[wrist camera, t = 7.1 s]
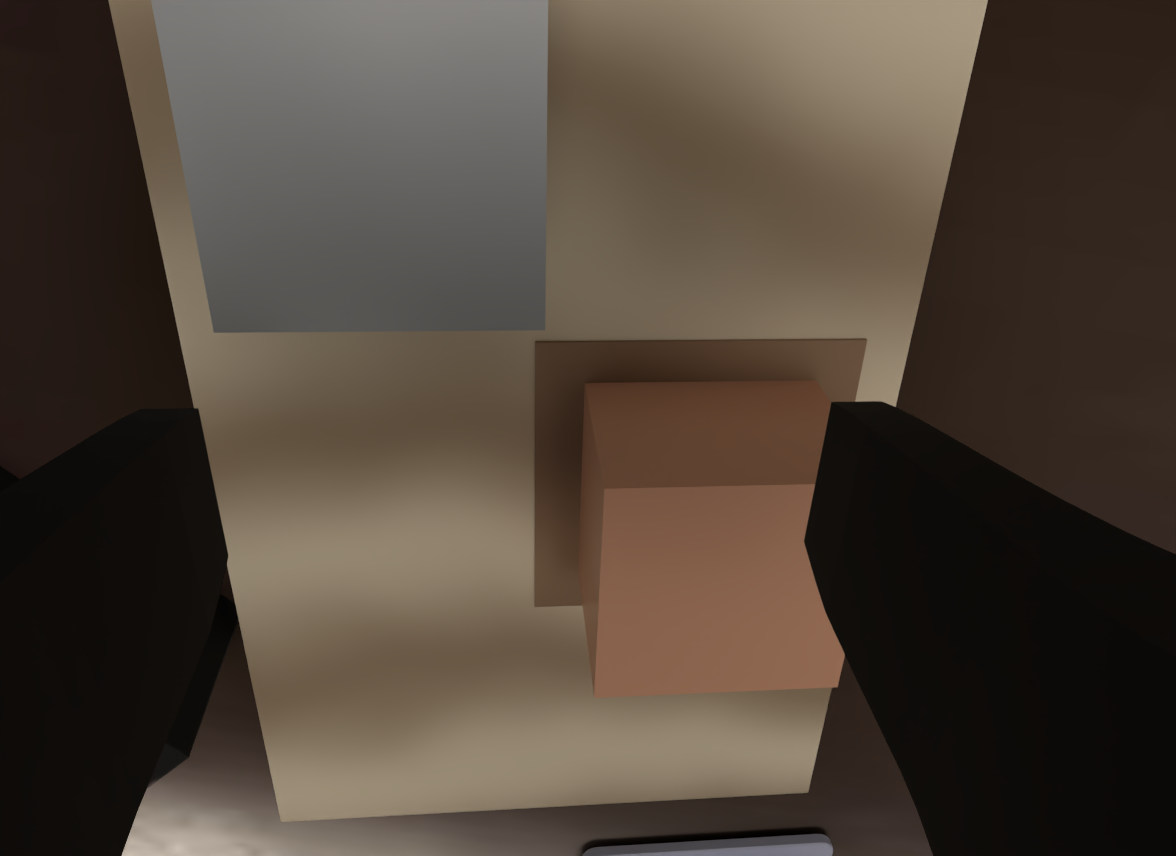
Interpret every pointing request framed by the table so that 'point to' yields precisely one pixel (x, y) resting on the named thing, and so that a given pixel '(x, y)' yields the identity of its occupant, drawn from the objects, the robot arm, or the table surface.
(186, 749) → the book
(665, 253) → the board
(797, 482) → the terracotta brick
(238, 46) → the grey brick
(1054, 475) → the table surface
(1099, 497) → the table surface
